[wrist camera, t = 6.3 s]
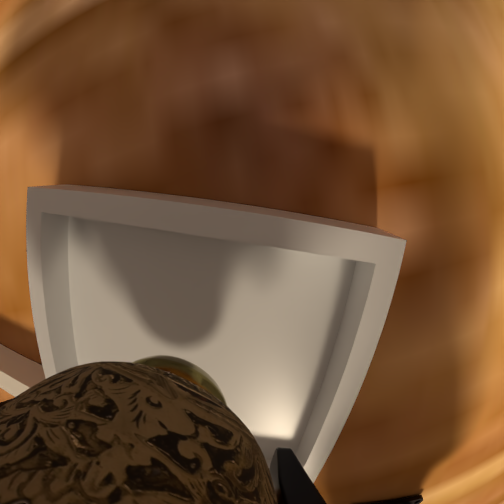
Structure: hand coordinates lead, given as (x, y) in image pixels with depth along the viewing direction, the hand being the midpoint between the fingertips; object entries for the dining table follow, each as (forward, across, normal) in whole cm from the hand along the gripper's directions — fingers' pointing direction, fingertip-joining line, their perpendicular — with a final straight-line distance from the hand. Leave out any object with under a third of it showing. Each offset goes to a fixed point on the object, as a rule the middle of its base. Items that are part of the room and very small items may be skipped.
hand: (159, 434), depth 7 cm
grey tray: (+5, 0, 0) cm, 5 cm away
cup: (+2, 0, 0) cm, 2 cm away
